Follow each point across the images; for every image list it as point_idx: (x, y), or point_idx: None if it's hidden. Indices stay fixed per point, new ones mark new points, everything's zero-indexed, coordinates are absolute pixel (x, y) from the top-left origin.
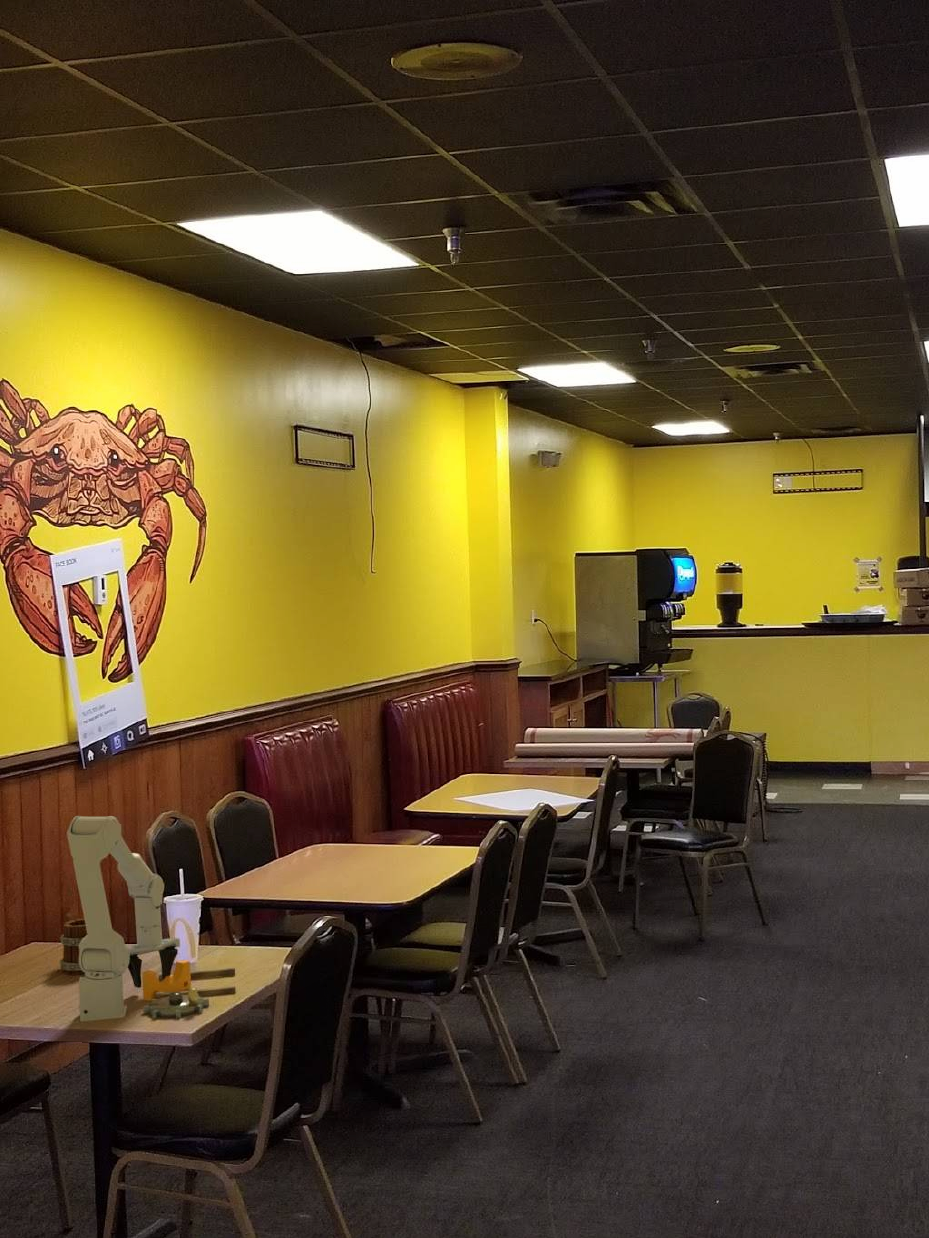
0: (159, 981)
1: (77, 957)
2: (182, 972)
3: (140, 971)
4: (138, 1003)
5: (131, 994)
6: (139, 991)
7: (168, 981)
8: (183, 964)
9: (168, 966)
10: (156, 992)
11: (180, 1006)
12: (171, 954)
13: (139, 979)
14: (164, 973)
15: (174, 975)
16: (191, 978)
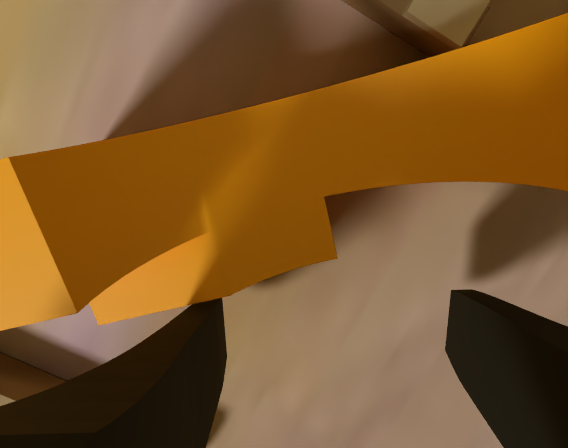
0: None
1: None
2: (101, 141)
3: (557, 344)
4: None
5: None
6: (379, 359)
7: (255, 201)
8: (22, 155)
9: (180, 345)
10: (464, 32)
11: None
12: (71, 418)
13: (510, 308)
14: (213, 363)
15: (180, 215)
16: (10, 361)
